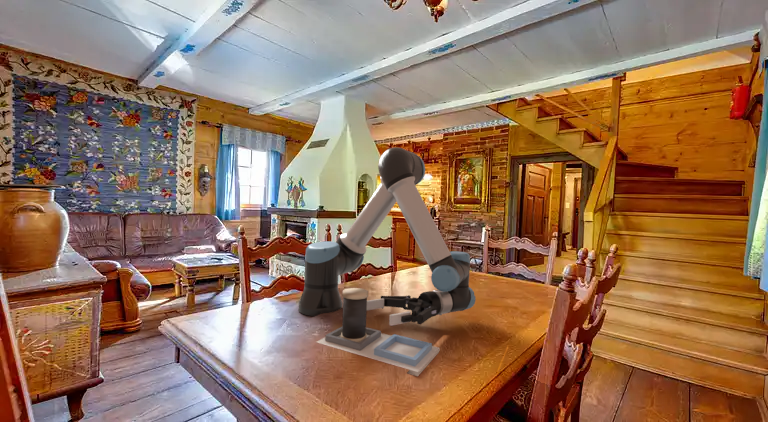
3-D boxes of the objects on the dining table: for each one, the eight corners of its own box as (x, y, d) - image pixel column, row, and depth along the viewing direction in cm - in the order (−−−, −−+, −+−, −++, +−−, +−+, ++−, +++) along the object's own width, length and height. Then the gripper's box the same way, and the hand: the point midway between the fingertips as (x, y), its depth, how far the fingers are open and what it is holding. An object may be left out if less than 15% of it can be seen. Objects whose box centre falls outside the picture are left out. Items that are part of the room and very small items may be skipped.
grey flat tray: (315, 345, 89) (316, 336, 89) (347, 328, 103) (348, 319, 103) (417, 376, 76) (418, 365, 76) (439, 351, 89) (439, 342, 89)
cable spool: (335, 339, 91) (337, 292, 91) (350, 331, 97) (351, 286, 97) (357, 346, 88) (359, 296, 88) (371, 337, 94) (373, 290, 94)
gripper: (462, 328, 97) (401, 342, 85) (409, 303, 118) (355, 312, 106) (463, 302, 96) (403, 312, 85) (410, 282, 117) (356, 288, 106)
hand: (376, 312), depth 96 cm, fingers open, 13 cm apart
